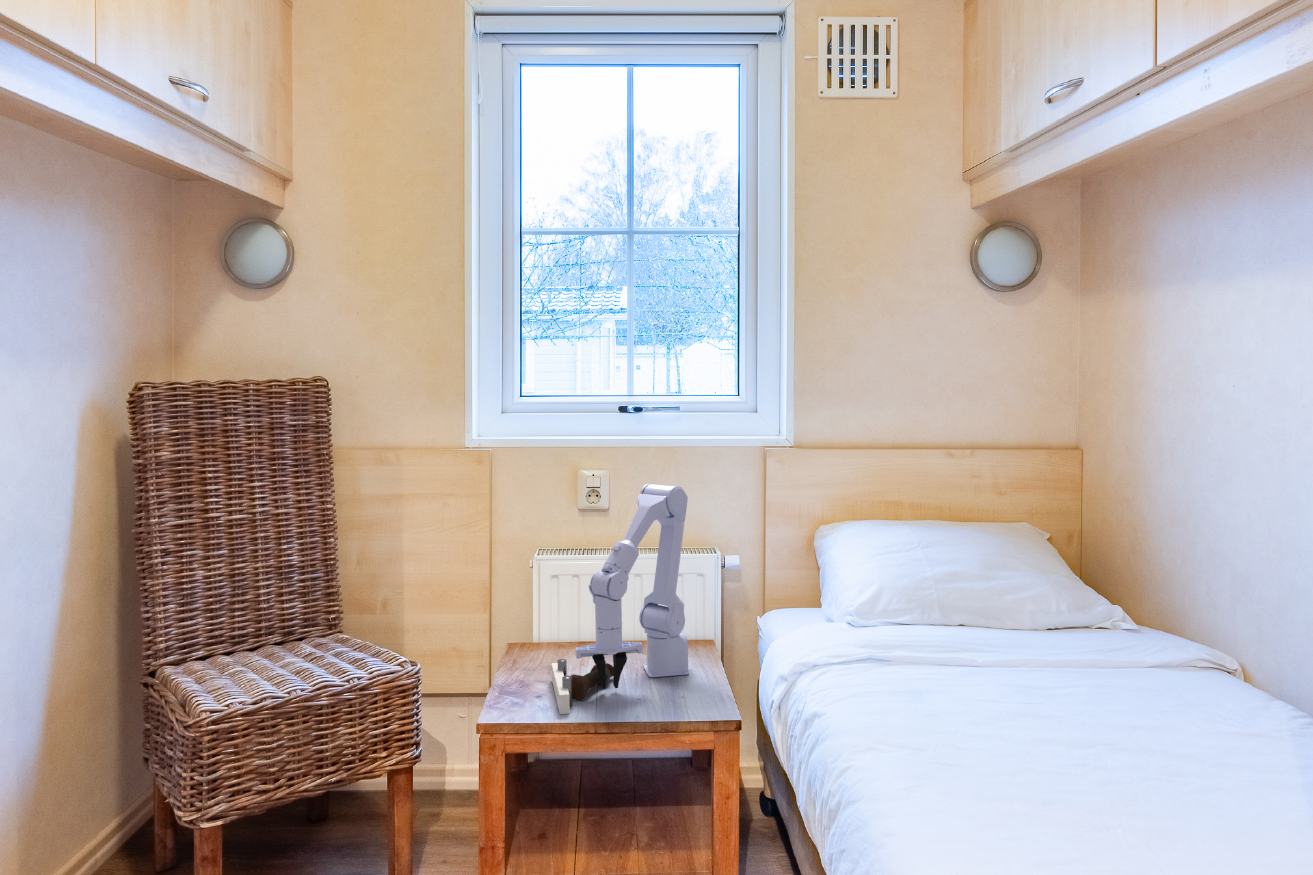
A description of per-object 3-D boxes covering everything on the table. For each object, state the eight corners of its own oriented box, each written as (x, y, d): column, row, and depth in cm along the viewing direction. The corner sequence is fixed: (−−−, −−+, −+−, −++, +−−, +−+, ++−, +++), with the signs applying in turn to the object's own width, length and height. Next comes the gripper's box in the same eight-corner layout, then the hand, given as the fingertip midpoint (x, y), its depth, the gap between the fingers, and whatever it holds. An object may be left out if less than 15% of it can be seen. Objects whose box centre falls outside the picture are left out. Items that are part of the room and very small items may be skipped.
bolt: (612, 686, 189) (577, 706, 176) (596, 672, 191) (560, 691, 178) (624, 666, 188) (589, 685, 174) (607, 652, 190) (572, 670, 176)
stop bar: (564, 679, 189) (564, 653, 188) (574, 712, 169) (574, 684, 169) (551, 680, 188) (551, 654, 188) (559, 714, 168) (559, 685, 168)
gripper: (577, 633, 173) (578, 696, 174) (644, 628, 176) (645, 690, 177) (573, 624, 180) (575, 685, 181) (638, 619, 183) (639, 679, 184)
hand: (609, 687), depth 180 cm, fingers closed
